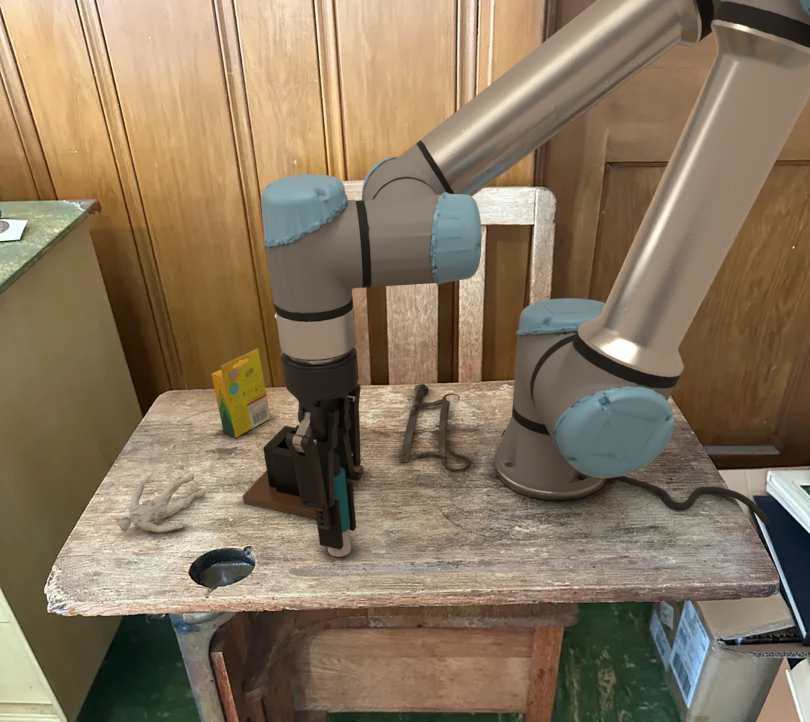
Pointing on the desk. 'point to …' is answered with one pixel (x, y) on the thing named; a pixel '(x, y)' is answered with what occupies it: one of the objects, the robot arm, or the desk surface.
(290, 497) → the holder
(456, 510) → the desk surface
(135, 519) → the soldier figure
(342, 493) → the teal and black cylinder
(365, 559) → the desk surface
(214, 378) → the crayon box
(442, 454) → the hacksaw
